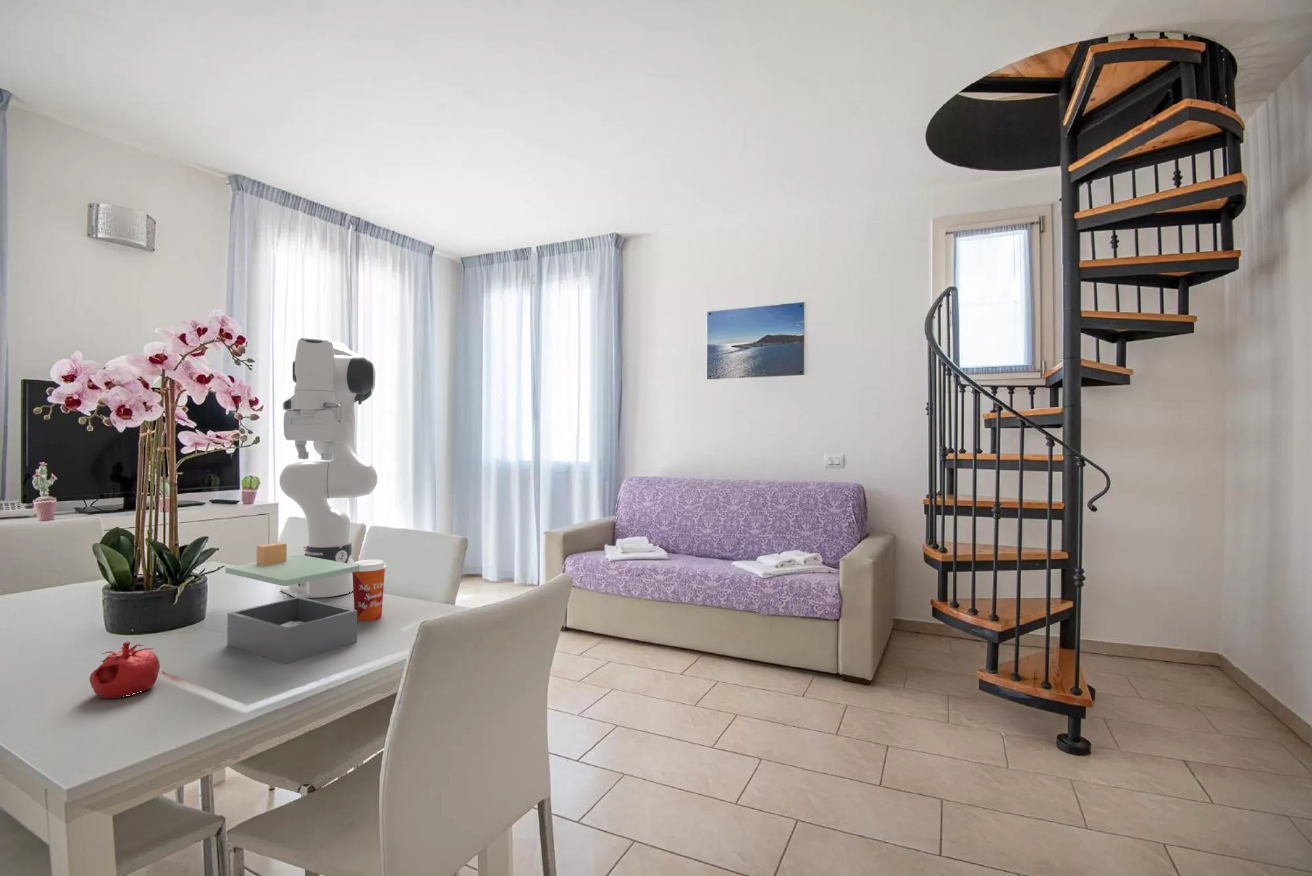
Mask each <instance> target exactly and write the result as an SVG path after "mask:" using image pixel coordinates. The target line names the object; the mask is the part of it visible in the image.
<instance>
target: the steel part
mask: <svg viewBox="0 0 1312 876" xmlns="http://www.w3.org/2000/svg"><path fill="white" fill-rule="evenodd" d="M302 623H306V622H294V621H290V622H287V623H285V624H282V625H280V626H284V627H291V626H295V625H299V624H302Z"/></svg>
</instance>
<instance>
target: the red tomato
mask: <svg viewBox="0 0 1312 876" xmlns="http://www.w3.org/2000/svg"><path fill="white" fill-rule="evenodd" d="M130 645H131V642H130V641H125V642H124V643H123V644H122V647H121V648H120V649H121V651H118V652H116V651H113V650H110V651H106V652H102V653H101V654H102V655H103V654H109V655H108V656H107V657H105V658H104V659H103V660H101V662H102V664H101V665H99V666H98V667H97V668H96V669H95V670H93V671H92V672H91V674H90V676H89V683H90V685H91V688H92V690H93V693H94V694H96V695H97V696H99V697H101V698H103V697H105V698H104V699H110V698H112V699H114V698H113V697H122V698H124V697H123V696H126V695H132V694H133V693H137V692H140V691H144V690H146V691H147V689H148V690H150V689H152V687H153V686H154V685H155V683H156V681H157V680H158V675H159V672H160V668H161V664H160V661H159V658H158V656H157V655H156V653H154V652H153V651H151V650H153V649H155V647H152V648H149V647H145V648H141V649H138V650H137V649H136V648H137V647H142V646H144V644H139V643H137V644H135V645H134V646H131V647H130ZM144 692H145V691H144ZM137 694H138V693H137Z"/></svg>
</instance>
